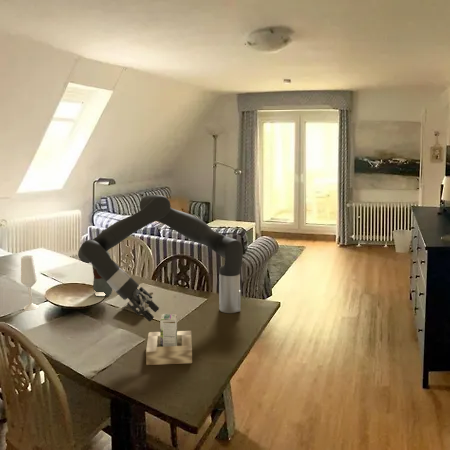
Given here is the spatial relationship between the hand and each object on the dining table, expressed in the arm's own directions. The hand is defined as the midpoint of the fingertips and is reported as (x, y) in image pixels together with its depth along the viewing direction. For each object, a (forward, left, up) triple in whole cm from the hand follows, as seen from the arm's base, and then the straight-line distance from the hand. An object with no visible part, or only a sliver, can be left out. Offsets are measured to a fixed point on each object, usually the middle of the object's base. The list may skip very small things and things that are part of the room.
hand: (154, 314), depth 177 cm
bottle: (+29, -64, -15) cm, 72 cm away
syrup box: (-5, +1, -15) cm, 16 cm away
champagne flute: (+59, -49, -15) cm, 78 cm away
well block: (-5, +1, -15) cm, 16 cm away
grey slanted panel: (+11, -43, -15) cm, 47 cm away
